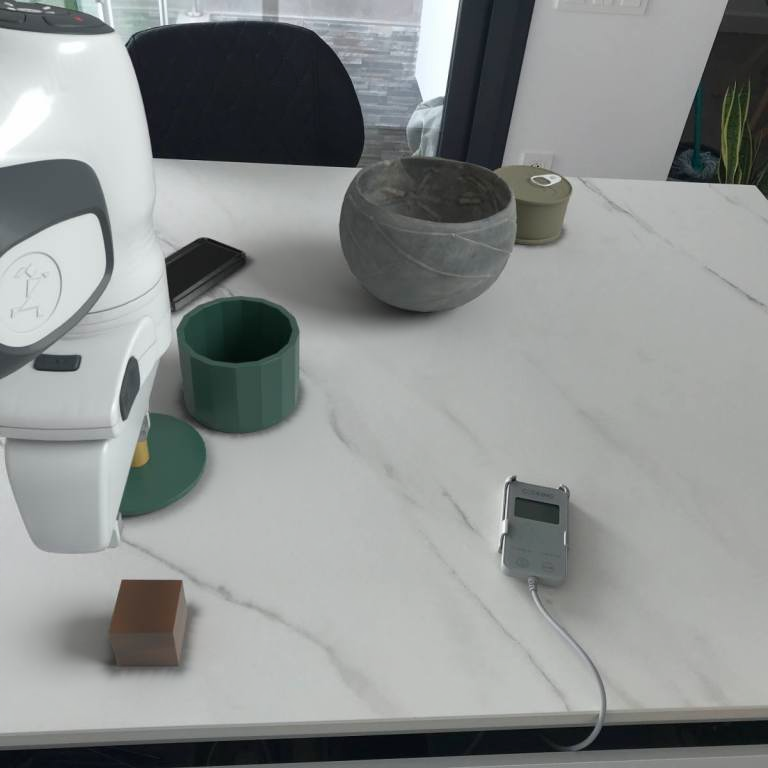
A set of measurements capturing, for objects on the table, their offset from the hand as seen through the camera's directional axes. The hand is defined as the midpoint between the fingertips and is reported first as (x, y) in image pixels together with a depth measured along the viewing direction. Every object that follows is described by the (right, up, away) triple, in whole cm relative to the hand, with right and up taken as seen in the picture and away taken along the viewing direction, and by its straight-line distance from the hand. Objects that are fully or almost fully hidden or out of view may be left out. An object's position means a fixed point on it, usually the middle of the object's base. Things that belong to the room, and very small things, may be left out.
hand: (123, 483), depth 52 cm
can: (+38, +30, +64) cm, 80 cm away
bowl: (+22, +18, +47) cm, 55 cm away
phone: (-7, +20, +46) cm, 51 cm away
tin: (+3, +6, +30) cm, 30 cm away
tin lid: (-6, -1, +20) cm, 21 cm away
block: (0, -13, +7) cm, 15 cm away
